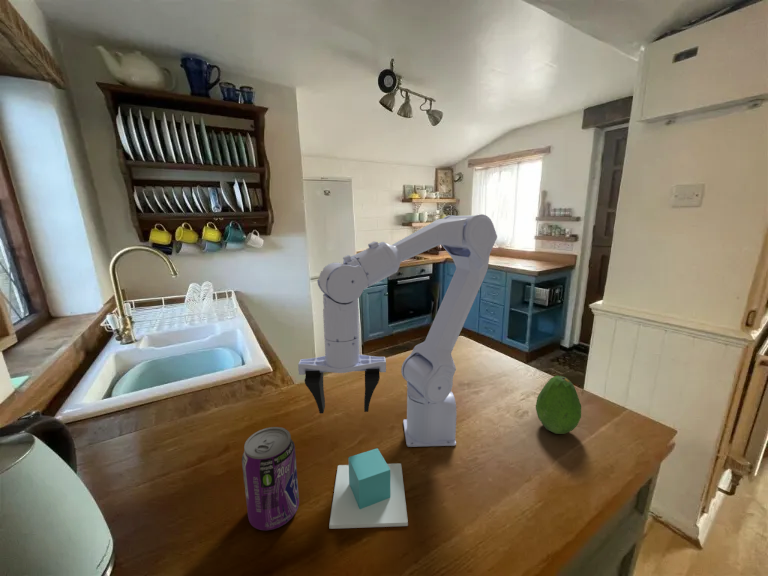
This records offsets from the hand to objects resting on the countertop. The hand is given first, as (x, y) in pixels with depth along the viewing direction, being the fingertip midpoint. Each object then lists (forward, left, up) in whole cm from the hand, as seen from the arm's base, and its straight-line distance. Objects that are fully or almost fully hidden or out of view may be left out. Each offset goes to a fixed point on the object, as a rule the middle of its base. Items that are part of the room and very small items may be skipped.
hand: (344, 409), depth 55 cm
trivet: (-4, +8, -10) cm, 13 cm away
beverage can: (+10, +10, -10) cm, 17 cm away
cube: (-4, +8, -9) cm, 13 cm away
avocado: (-42, -6, -10) cm, 44 cm away
